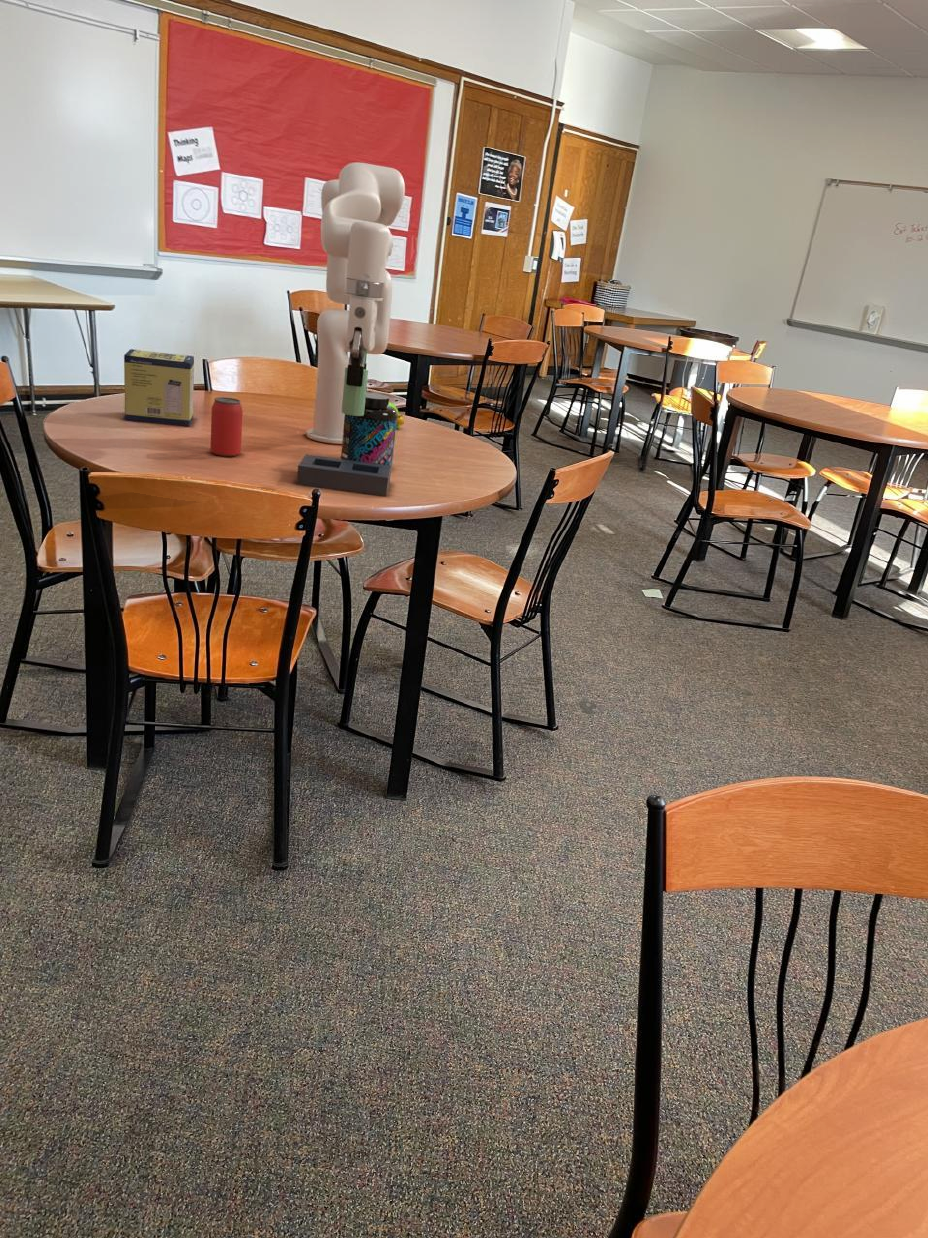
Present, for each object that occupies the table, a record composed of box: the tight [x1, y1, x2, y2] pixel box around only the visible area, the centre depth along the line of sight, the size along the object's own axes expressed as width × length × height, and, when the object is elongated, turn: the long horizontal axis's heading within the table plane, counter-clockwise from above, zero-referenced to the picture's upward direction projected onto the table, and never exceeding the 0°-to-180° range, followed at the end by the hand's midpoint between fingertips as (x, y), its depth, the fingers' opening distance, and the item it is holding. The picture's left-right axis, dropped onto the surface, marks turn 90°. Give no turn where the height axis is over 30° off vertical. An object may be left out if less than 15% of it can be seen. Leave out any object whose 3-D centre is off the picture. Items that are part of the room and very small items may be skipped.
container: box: [340, 391, 397, 467], centre depth 207 cm, size 12×12×17 cm
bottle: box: [342, 357, 369, 416], centre depth 184 cm, size 5×5×12 cm
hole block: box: [296, 453, 392, 497], centre depth 191 cm, size 11×19×4 cm, turn 91°
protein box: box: [123, 348, 195, 427], centre depth 220 cm, size 10×16×16 cm
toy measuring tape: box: [388, 401, 405, 430], centre depth 255 cm, size 6×20×7 cm, turn 58°
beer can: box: [209, 396, 244, 458], centre depth 199 cm, size 7×7×12 cm
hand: (355, 382), depth 184 cm, fingers closed on bottle, 4 cm apart
